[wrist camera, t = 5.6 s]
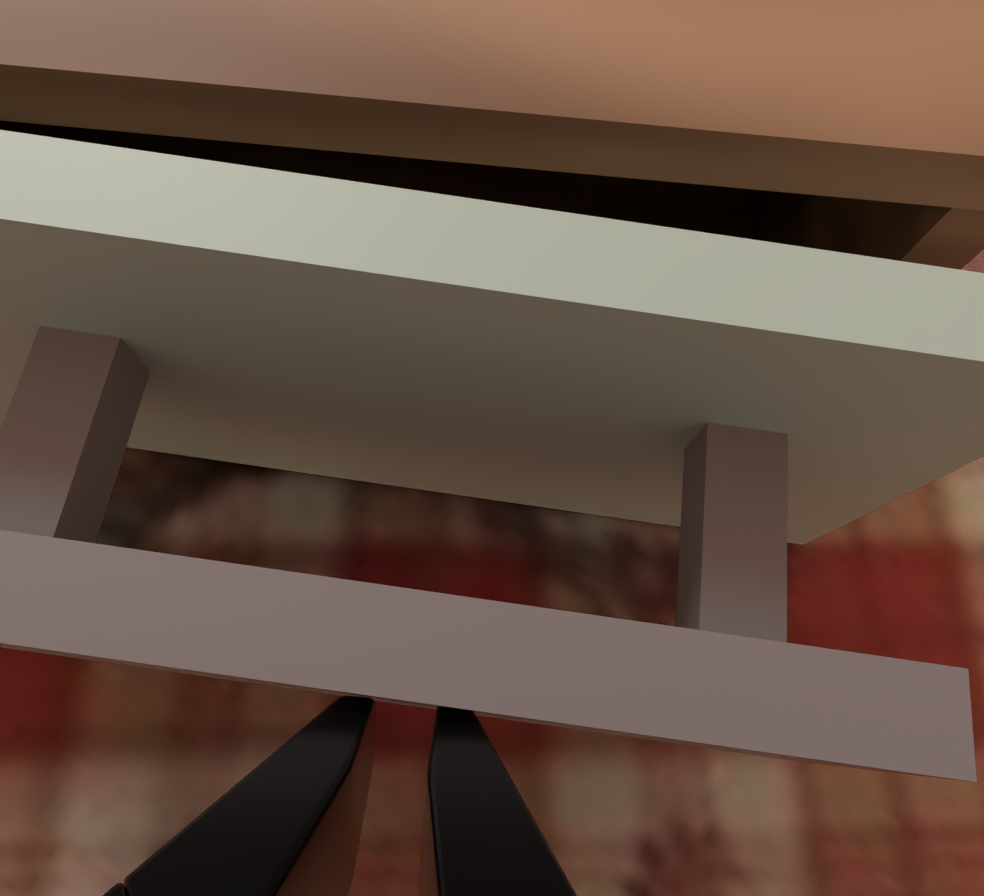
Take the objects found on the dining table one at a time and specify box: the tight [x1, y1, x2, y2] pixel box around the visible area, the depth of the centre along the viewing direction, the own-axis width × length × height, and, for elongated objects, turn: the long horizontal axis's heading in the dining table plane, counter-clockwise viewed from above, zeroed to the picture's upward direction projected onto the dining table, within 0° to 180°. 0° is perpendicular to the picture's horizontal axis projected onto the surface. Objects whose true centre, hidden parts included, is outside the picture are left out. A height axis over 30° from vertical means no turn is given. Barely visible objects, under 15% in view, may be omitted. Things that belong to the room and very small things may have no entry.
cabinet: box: [0, 0, 984, 270], centre depth 16 cm, size 12×22×9 cm, turn 86°
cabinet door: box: [0, 130, 984, 782], centre depth 12 cm, size 6×23×9 cm, turn 82°
